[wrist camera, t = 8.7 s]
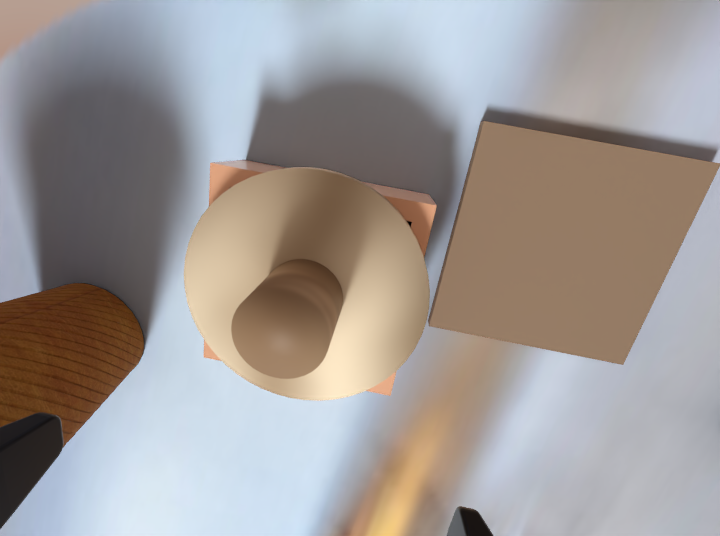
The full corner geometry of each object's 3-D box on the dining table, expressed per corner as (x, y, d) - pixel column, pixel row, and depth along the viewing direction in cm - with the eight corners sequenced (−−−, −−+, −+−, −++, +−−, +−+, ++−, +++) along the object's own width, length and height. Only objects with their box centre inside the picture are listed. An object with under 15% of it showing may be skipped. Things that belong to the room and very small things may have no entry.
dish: (428, 194, 17) (436, 205, 14) (391, 354, 20) (390, 395, 17) (245, 159, 18) (210, 162, 14) (234, 323, 20) (203, 357, 17)
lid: (454, 193, 14) (479, 212, 10) (399, 405, 17) (401, 484, 13) (199, 145, 14) (123, 144, 10) (194, 362, 17) (134, 426, 13)
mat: (709, 162, 16) (720, 163, 15) (616, 358, 19) (622, 364, 18) (480, 121, 16) (484, 121, 15) (428, 320, 19) (429, 325, 19)
